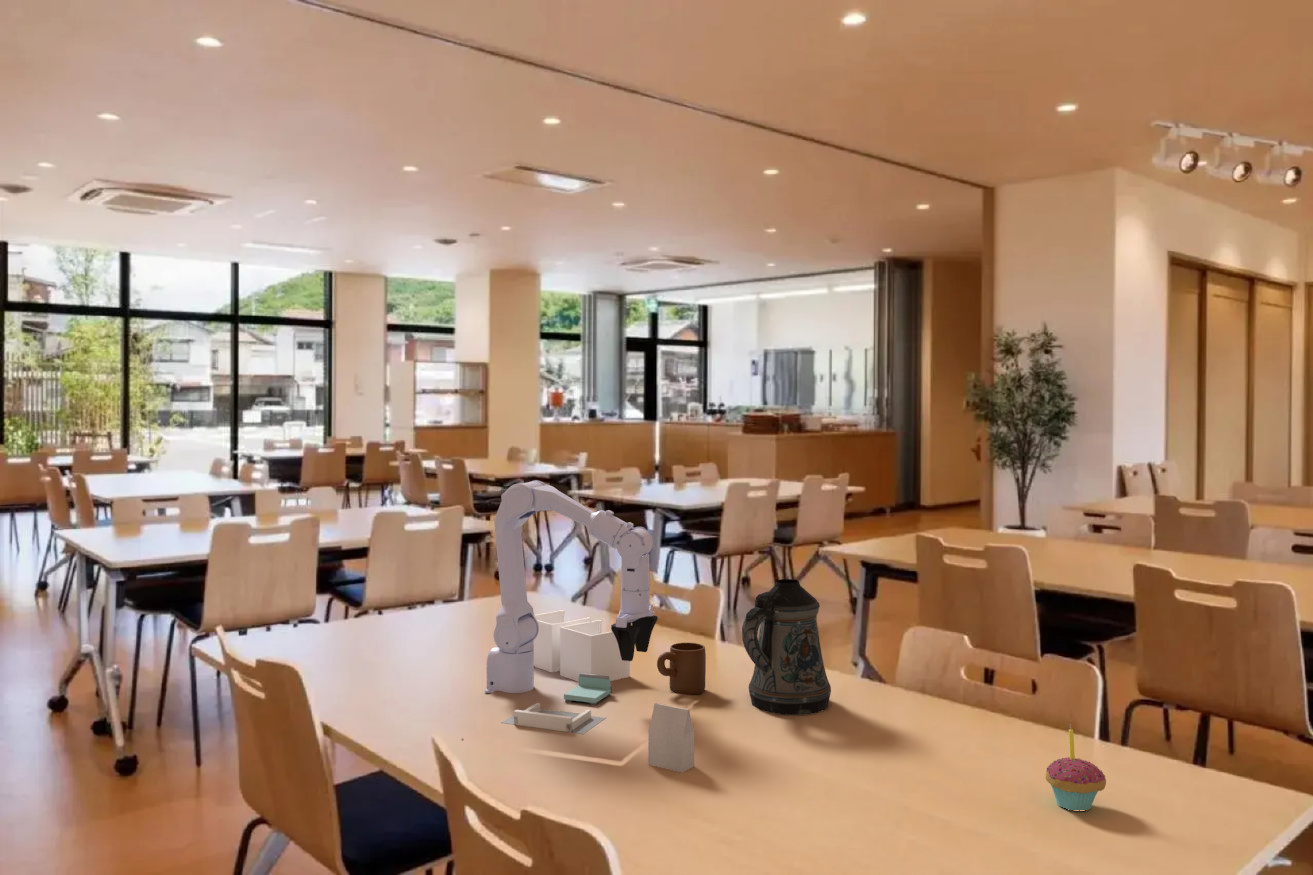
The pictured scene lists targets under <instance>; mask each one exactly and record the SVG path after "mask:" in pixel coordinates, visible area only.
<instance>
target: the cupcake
mask: <svg viewBox="0 0 1313 875" xmlns="http://www.w3.org/2000/svg"><path fill="white" fill-rule="evenodd" d="M1074 737H1075V736H1074V729H1073V728H1072V724H1071V723H1069V728H1068V741H1069V742H1068V744H1069V746H1068V747H1069V756H1068V757H1061V758H1057V760H1053V761H1052V762H1051V763H1050V764H1049V765H1047V767H1046V772H1045V780H1046V781H1047V783H1048V784H1049V785H1050V786H1051V787H1052V791H1053V794H1054V797H1055V801H1056V804H1057V806H1058V805H1059V806H1058V807H1060V806H1061V807H1063V808H1066V809H1069V810H1079V811H1080V810H1089V809H1090V808H1091V809H1092V805H1093V804H1094V800H1095V798H1096V796H1097V794H1098V792H1101V791H1103V790H1104V789H1105V788H1106V785H1107V779H1106V775H1105V774H1104V773H1103V771H1102V770H1100V768H1099V767H1098V766H1096V764H1094V763H1092V762H1091V761H1088V760H1083V759H1082V758H1075V757H1076V756H1075V740H1074ZM1061 807H1060V808H1061ZM1063 808H1062V809H1063ZM1066 809H1065V810H1066ZM1091 809H1090V810H1091ZM1069 810H1068V811H1069ZM1090 810H1089V811H1090Z"/></svg>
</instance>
